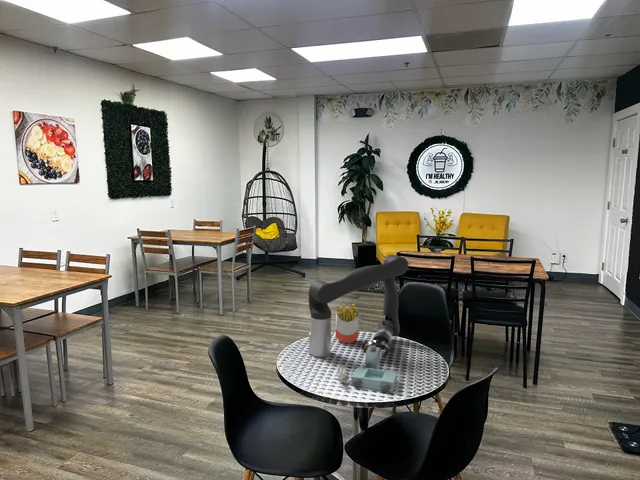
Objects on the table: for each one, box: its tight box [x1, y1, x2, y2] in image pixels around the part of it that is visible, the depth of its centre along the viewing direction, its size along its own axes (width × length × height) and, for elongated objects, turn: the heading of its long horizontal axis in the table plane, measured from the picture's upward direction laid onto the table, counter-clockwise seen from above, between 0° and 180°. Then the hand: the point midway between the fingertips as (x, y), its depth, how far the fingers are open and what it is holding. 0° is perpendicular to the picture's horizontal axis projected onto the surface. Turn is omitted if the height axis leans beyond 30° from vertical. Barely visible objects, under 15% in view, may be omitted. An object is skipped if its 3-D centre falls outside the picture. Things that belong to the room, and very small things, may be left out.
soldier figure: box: [336, 365, 351, 385], centre depth 170 cm, size 8×5×12 cm
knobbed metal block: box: [364, 345, 381, 370], centre depth 179 cm, size 5×6×11 cm
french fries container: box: [335, 303, 360, 344], centre depth 211 cm, size 5×11×18 cm, turn 88°
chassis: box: [350, 366, 398, 394], centre depth 168 cm, size 16×12×4 cm
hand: (375, 352), depth 183 cm, fingers open, 8 cm apart
